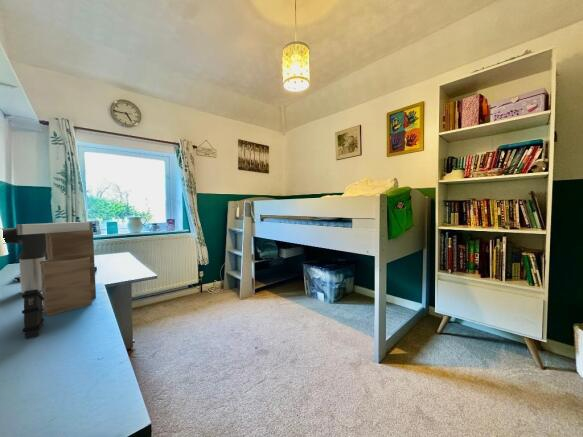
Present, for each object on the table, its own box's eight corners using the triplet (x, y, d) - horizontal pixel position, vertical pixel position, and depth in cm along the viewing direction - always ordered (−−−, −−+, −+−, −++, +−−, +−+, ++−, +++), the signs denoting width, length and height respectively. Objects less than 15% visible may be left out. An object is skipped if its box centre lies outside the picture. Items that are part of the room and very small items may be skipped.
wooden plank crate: (35, 304, 108) (31, 232, 106) (88, 292, 122) (85, 229, 121) (46, 316, 95) (41, 235, 94) (103, 301, 110) (99, 231, 109)
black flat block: (20, 339, 76) (22, 291, 80) (29, 341, 85) (30, 298, 89) (38, 335, 78) (38, 288, 82) (44, 337, 87) (44, 295, 92)
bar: (16, 234, 100) (16, 224, 100) (90, 229, 119) (89, 221, 119) (18, 234, 97) (17, 224, 97) (92, 230, 117) (92, 221, 117)
